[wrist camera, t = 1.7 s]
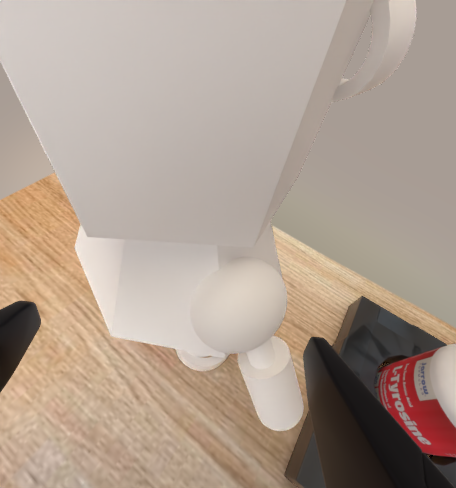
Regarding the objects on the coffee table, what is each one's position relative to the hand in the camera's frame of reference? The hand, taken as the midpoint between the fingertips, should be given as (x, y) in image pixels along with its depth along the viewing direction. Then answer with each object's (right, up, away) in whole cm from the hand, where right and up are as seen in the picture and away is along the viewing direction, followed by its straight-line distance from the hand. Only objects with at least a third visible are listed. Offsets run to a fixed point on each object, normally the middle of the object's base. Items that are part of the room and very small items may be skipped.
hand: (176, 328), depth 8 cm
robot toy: (-2, -4, +16) cm, 16 cm away
